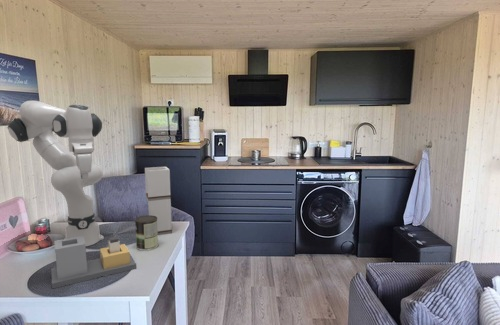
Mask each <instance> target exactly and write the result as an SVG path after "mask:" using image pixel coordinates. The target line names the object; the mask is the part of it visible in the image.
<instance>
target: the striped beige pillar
mask: <svg viewBox="0 0 500 325" xmlns="http://www.w3.org/2000/svg"><path fill="white" fill-rule="evenodd" d="M170 172H171V170H170V168H168V167H167V166H156V167H155V166H153V167H144V178H145V183H144V184H145V199H146V201H147V203H148V204H147V205H148V206H147V207H148V215H152V216H156V217H157V231H158V236H162V235H168V234H173V227H172V226H173V224H172V203H171V202H172V200H171V197H172V196H171V195H172V194H171V173H170Z"/></svg>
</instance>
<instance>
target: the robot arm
mask: <svg viewBox="0 0 500 325" xmlns="http://www.w3.org/2000/svg"><path fill="white" fill-rule="evenodd" d="M19 114H20V117H14V118H13V119H12V120H11V121H10V122H9V123H8V125H7V129H8V133H9V135H10V136H11V137H12V138H13V139H14V140H15V141H16V142H19V143H23V142H28V141H29V140H32V145H33V148H34V149H35V150H36V152H37V153H38V155H39V156H40V157H41V158H42V159H43V160H44V161H45V162H46V163H47V164H48V165H49V166H50V167H51V168H52V169H53V170H56V171H54V172H52V175H51V179H50V183H51V185H52V187H53V188H54V189H55V190H56V191H58V192H60V193H61V194H62V195H63V197H64V199H65V200H66V203H67V204H66V206H67V213H68V216H67V224H68V226H67V227H66V228H65V229H64V239H68V238H73V237H79V236H83V238H84V241H85V247H89V246H92V245H95V244H97V243H98V242H100V241H102V240H104V239H105V237H104V235H102V234H100V224H99V223H98V222H96V215H95V213H94V200H93V198H92V197H91V196H90V195H87V194H86V193H85V191H84V188H85V187H89V186H92V185H94V184H97V183H99V182H100V181H101V180H102V178H103V169H102V168H101V167H100V166H99V165H98V164H95V163H93V162H92V161H93V156H92V155H93V154H92V153H94V151H95V140H94V138H96V137H97V136H98V135H99V134H100V132H101V131H102V128H103V123H102V120H101V118H99V116H98V115H97V114H95V113H91V109H90V107H88V106H85V105H81V104H71V105H68V106H67V107H66V109H63V108H60V107H58V106H55V105H52V104H50V103H49V104H48V103H46V102H43V101H39V100H26V101H24V102H22V103H21V105H20V107H19ZM54 134H55V135H57V136H58V137H60V138H68V148H67V147H66V146H65V145H64V144H63V143H62V142H61V141H60V140H59V139H58V138H56V136H55V135H54Z"/></svg>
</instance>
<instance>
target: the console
mask: <svg viewBox="0 0 500 325" xmlns="http://www.w3.org/2000/svg"><path fill="white" fill-rule="evenodd" d="M86 247H87V246H86ZM86 247H85V241H84V238H83V236H79V237H73V238H68V239H65V238H63V239H58V240H54V251H55V262H56V267H51V269H50V271H51V272H50V273H51V275H50V276H51V287H52V288H51V289H53V288H54V289H57V288H62V287H65V285H66V286H70V285H73V283H74V284H78V283H83V282H85V281H86V280H87V281H89V280H90V279H91V280H94V279H93V278H95V279H98V278H97V277H99V278H102V277H101V276H103V277H106V276H105V275H107V276H111V275H110V274H112V275H115V274H114V273H116V274H120V273H124V272H127V271H131V270H132V271H133V270H136V269H137V262H136V261H135V260H134V258H133V257H132V255H131V253H130V250H129V249H128V247H127V245H126V244H125V243H123V244H122V243H121V244H120V252H116V253H111V254H109V246H107V247H102V248H99V258H95V259H90V260H87V251H86V250H87V248H86ZM119 272H120V273H119ZM91 280H90V281H91ZM69 284H70V285H69ZM61 286H62V287H61Z"/></svg>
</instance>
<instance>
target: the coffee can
mask: <svg viewBox="0 0 500 325" xmlns="http://www.w3.org/2000/svg"><path fill="white" fill-rule="evenodd" d="M134 225H135V239H136V240H135V241H136V242H135V244H136V250H140V251H151V250H154V249H156V248H158V247H159V238H158V236H159V235H158V231H157V217H156V216H152V215H149V214H148V215H142V216H137V217H136V218H134Z"/></svg>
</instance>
